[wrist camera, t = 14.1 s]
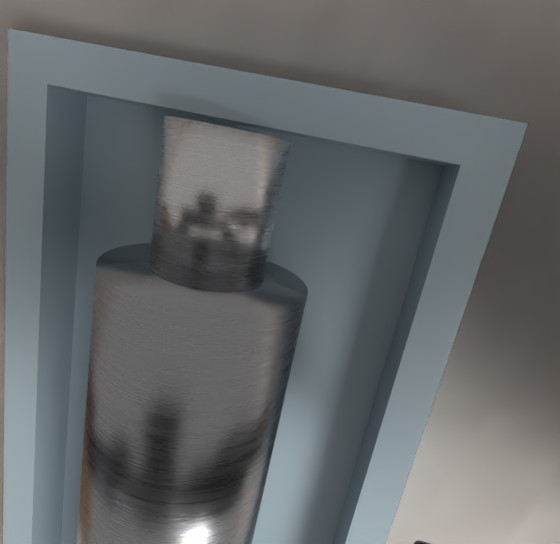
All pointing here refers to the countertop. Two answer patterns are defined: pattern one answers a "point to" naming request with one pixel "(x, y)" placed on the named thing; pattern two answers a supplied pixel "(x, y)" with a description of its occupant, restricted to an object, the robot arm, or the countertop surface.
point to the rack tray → (283, 251)
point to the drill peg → (191, 350)
